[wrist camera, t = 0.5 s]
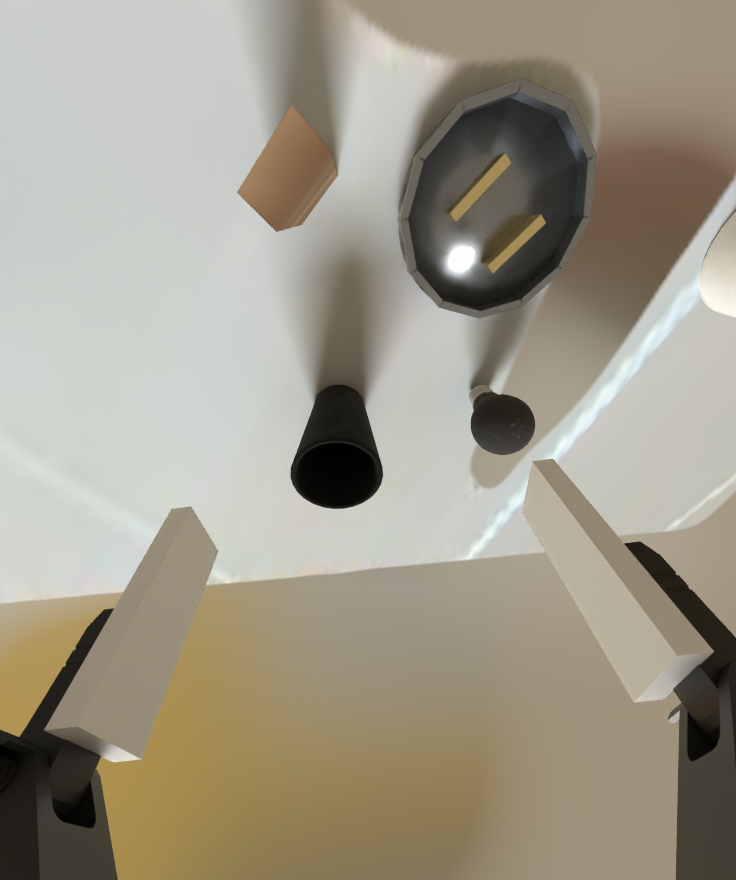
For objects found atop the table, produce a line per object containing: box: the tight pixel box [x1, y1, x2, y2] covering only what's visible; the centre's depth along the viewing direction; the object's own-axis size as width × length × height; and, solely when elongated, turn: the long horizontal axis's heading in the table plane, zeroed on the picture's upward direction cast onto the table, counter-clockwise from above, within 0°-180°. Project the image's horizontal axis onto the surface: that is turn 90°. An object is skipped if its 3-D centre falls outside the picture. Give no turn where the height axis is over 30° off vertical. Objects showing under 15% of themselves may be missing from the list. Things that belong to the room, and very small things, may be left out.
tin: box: [398, 79, 597, 318], centre depth 27 cm, size 15×15×3 cm
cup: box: [291, 385, 383, 509], centre depth 33 cm, size 8×8×12 cm
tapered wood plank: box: [237, 105, 338, 232], centre depth 21 cm, size 2×4×12 cm, turn 135°
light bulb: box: [469, 385, 535, 455], centre depth 33 cm, size 6×6×10 cm
